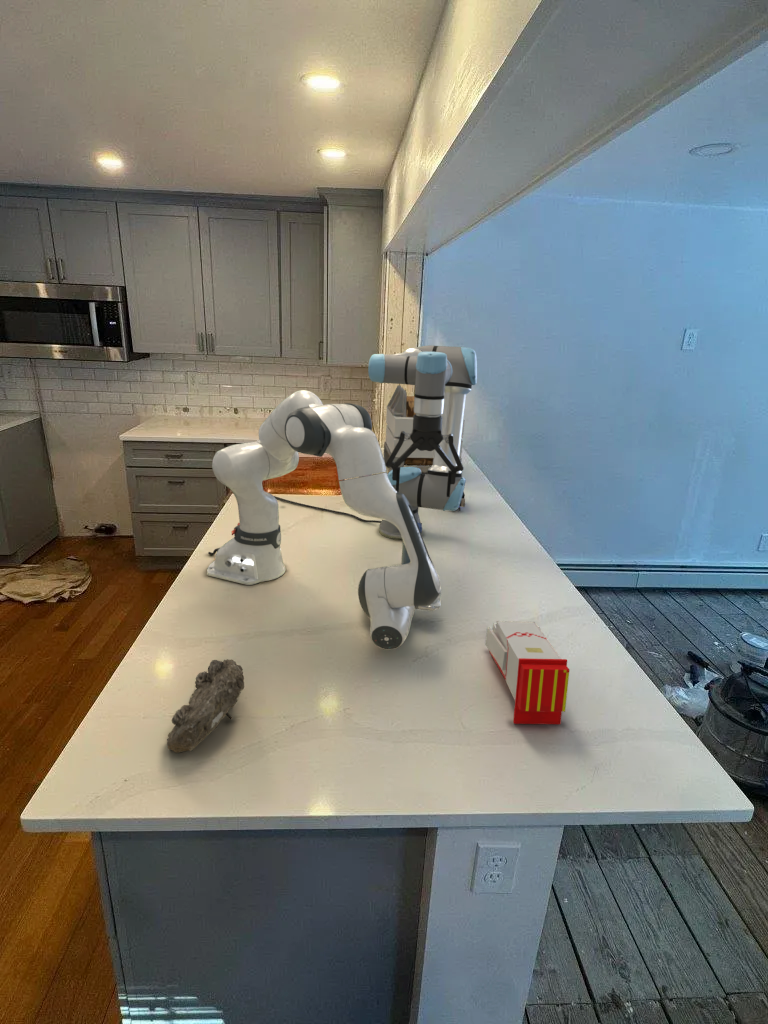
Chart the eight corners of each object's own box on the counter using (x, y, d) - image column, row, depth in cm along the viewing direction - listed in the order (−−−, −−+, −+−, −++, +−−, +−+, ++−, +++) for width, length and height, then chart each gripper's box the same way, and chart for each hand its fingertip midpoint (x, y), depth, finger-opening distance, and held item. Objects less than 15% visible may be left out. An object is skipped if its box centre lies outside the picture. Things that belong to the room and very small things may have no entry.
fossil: (192, 660, 117) (244, 628, 112) (224, 691, 120) (276, 661, 115) (142, 746, 98) (202, 712, 93) (182, 779, 101) (242, 748, 96)
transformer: (382, 463, 289) (386, 382, 275) (445, 464, 293) (451, 384, 279) (390, 482, 257) (394, 392, 243) (460, 483, 261) (468, 394, 247)
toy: (532, 606, 134) (578, 666, 105) (527, 658, 137) (571, 730, 108) (481, 605, 134) (513, 664, 105) (478, 657, 137) (508, 730, 107)
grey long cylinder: (397, 586, 162) (400, 524, 156) (412, 584, 164) (416, 522, 157) (404, 594, 158) (408, 530, 151) (419, 591, 160) (424, 528, 153)
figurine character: (465, 515, 224) (460, 499, 237) (467, 498, 221) (462, 483, 234) (448, 515, 224) (444, 499, 237) (450, 498, 220) (445, 482, 234)
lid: (399, 529, 156) (399, 522, 156) (416, 527, 158) (416, 520, 158) (407, 536, 152) (407, 529, 151) (425, 533, 154) (425, 527, 153)
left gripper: (440, 598, 137) (445, 574, 150) (358, 588, 141) (369, 565, 153) (438, 621, 140) (443, 595, 152) (357, 610, 143) (368, 585, 156)
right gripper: (476, 414, 148) (468, 492, 155) (380, 409, 149) (377, 486, 156) (478, 420, 141) (470, 501, 148) (378, 414, 142) (375, 494, 149)
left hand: (405, 580), depth 153 cm, fingers open, 8 cm apart
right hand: (422, 493), depth 152 cm, fingers open, 13 cm apart
